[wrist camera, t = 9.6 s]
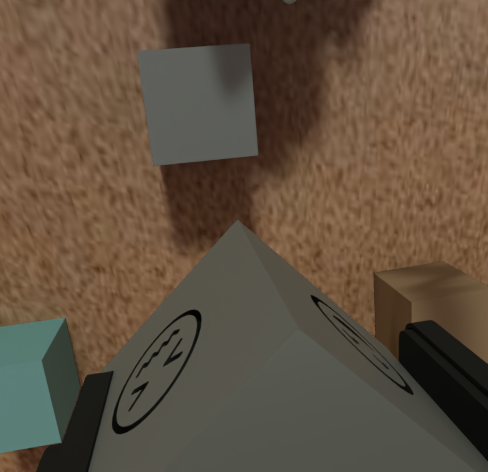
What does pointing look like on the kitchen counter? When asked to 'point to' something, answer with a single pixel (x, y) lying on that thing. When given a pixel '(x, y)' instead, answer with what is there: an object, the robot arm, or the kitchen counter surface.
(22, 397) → the teal block
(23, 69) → the kitchen counter surface
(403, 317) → the walnut block
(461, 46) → the kitchen counter surface
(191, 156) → the light gray cube
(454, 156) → the kitchen counter surface
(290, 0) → the lucky cat figurine
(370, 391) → the dice cube
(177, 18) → the kitchen counter surface
